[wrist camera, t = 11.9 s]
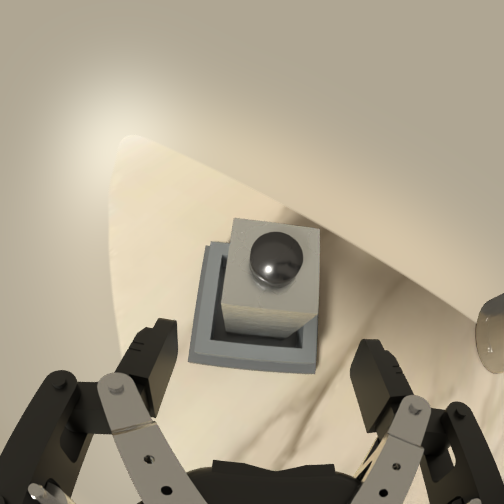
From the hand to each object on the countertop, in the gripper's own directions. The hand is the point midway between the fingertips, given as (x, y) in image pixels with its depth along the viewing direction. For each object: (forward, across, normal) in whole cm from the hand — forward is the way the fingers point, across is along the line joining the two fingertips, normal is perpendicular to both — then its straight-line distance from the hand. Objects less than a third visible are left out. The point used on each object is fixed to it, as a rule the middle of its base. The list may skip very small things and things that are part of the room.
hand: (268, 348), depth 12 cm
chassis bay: (+11, 0, +5) cm, 12 cm away
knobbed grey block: (+10, 0, +4) cm, 11 cm away
